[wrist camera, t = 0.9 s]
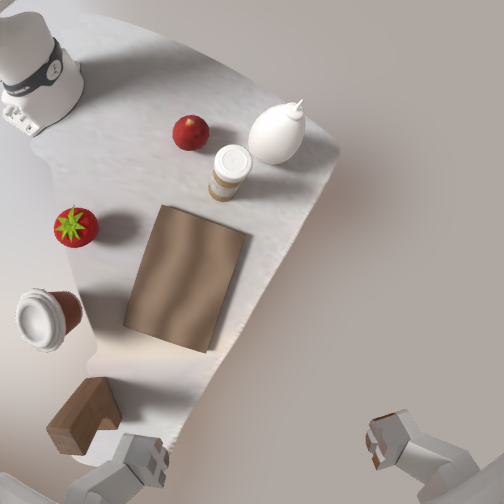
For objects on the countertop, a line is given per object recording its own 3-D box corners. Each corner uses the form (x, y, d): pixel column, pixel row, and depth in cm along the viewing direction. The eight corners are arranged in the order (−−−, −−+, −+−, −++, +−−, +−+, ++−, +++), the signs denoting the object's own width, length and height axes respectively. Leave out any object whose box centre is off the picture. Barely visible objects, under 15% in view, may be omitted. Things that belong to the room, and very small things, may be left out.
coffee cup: (60, 272, 37) (23, 275, 26) (98, 305, 39) (68, 320, 27) (39, 312, 36) (3, 326, 24) (75, 345, 37) (45, 369, 26)
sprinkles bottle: (227, 171, 44) (241, 137, 31) (240, 194, 44) (260, 168, 31) (203, 183, 43) (208, 152, 30) (216, 207, 43) (226, 185, 30)
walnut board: (125, 323, 40) (122, 325, 38) (162, 206, 42) (162, 204, 40) (205, 350, 42) (205, 353, 41) (243, 235, 44) (245, 234, 43)
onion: (206, 127, 43) (210, 103, 36) (208, 156, 43) (212, 136, 36) (173, 129, 42) (171, 105, 34) (173, 158, 42) (171, 138, 34)
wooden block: (122, 417, 38) (101, 479, 21) (102, 418, 37) (75, 477, 20) (106, 376, 38) (70, 430, 21) (85, 377, 37) (44, 428, 20)
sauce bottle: (280, 178, 46) (328, 137, 28) (237, 164, 44) (264, 112, 27) (289, 141, 47) (335, 90, 29) (248, 127, 45) (278, 66, 28)
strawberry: (69, 215, 38) (42, 204, 28) (108, 211, 40) (87, 199, 30) (69, 250, 38) (41, 247, 28) (108, 248, 39) (86, 244, 30)
